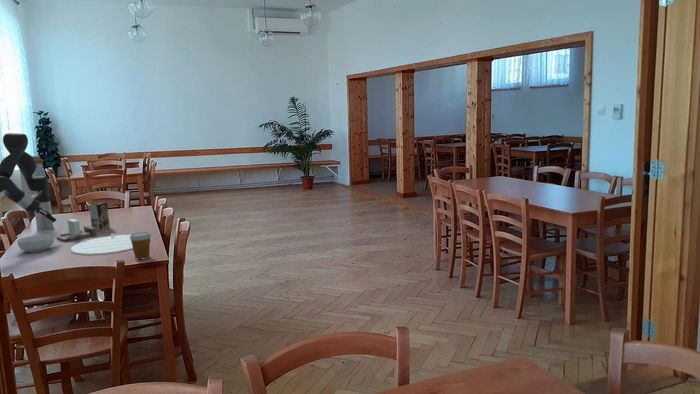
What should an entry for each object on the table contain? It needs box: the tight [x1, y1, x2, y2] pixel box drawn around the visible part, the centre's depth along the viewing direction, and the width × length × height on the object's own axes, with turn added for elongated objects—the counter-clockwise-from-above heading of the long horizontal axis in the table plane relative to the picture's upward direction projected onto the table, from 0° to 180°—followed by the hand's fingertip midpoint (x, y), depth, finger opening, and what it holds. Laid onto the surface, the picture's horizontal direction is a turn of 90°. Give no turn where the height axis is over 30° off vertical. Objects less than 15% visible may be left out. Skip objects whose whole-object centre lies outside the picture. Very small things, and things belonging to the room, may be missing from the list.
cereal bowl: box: [16, 234, 55, 254], centre depth 288 cm, size 17×17×7 cm
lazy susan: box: [70, 232, 133, 256], centre depth 294 cm, size 40×39×3 cm
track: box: [56, 225, 98, 243], centre depth 315 cm, size 18×11×4 cm, turn 137°
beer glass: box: [129, 231, 151, 259], centre depth 264 cm, size 10×10×12 cm
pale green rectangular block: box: [66, 218, 81, 236], centre depth 314 cm, size 3×9×8 cm, turn 47°
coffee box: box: [88, 202, 111, 232], centre depth 334 cm, size 9×6×16 cm
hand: (55, 220), depth 306 cm, fingers closed
